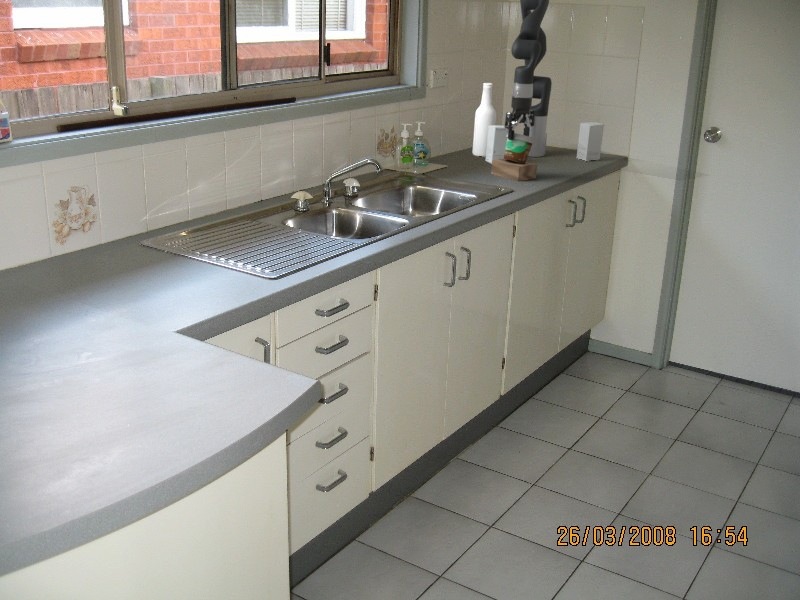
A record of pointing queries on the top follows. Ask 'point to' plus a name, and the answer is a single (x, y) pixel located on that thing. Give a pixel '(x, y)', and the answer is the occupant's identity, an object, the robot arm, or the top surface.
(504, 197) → the top surface
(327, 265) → the top surface
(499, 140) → the skincare box
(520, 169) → the walnut block
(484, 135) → the alcohol
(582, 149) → the skincare box
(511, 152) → the food container
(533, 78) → the robot arm
